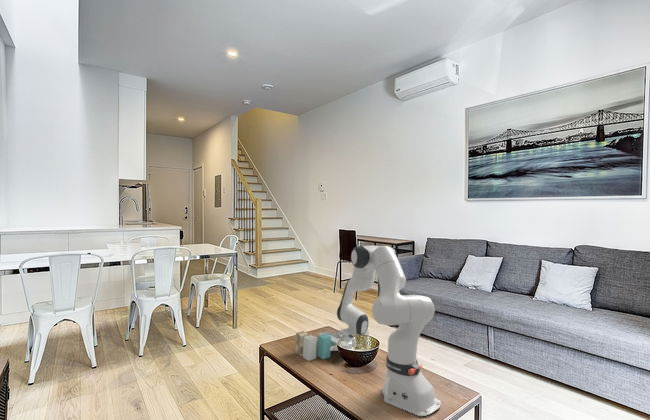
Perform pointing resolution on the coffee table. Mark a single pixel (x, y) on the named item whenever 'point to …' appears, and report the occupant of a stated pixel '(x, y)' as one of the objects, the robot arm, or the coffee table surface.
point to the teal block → (323, 346)
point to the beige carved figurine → (300, 342)
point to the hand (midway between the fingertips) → (322, 345)
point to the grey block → (309, 347)
